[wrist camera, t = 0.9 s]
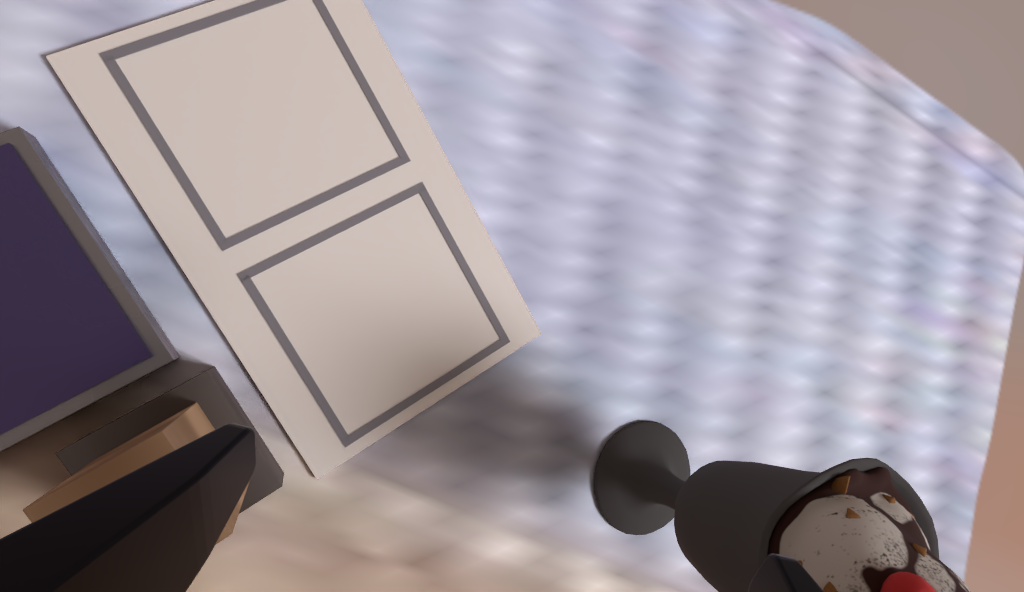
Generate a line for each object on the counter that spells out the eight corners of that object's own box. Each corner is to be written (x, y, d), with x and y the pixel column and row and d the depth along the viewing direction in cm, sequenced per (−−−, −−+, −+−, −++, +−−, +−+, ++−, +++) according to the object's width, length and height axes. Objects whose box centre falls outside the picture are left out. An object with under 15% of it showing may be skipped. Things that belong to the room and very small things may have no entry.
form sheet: (317, 478, 20) (317, 480, 19) (47, 58, 17) (44, 55, 17) (539, 333, 23) (542, 334, 23) (339, -38, 20) (340, -42, 20)
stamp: (157, 553, 18) (88, 663, 12) (77, 441, 17) (-34, 503, 12) (284, 472, 19) (274, 538, 14) (214, 366, 19) (174, 389, 13)
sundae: (559, 427, 23) (957, 609, 9) (688, 385, 25) (1165, 477, 11) (590, 577, 23) (1021, 983, 9) (715, 522, 26) (1210, 779, 12)
